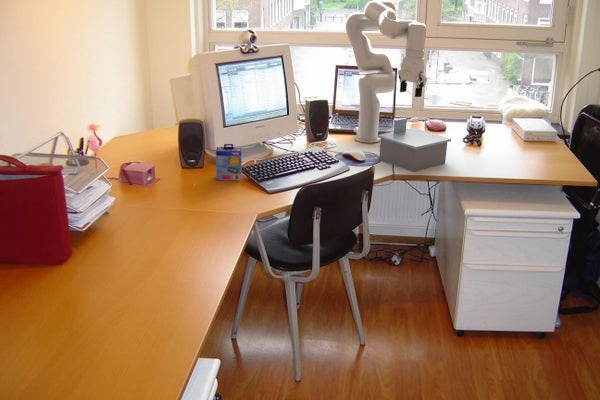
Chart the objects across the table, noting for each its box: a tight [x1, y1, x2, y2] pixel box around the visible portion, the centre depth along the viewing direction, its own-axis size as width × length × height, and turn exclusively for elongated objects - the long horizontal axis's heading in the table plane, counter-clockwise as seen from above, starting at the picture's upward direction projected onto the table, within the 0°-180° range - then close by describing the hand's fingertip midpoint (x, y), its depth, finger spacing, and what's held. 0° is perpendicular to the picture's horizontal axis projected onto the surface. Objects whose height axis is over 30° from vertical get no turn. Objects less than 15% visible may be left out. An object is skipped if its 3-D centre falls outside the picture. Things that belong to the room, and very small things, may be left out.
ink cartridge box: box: [215, 143, 242, 181], centre depth 259 cm, size 10×6×14 cm, turn 95°
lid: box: [378, 117, 452, 149], centre depth 284 cm, size 22×22×8 cm
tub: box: [378, 138, 448, 173], centre depth 286 cm, size 20×20×10 cm
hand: (410, 94), depth 283 cm, fingers open, 9 cm apart
